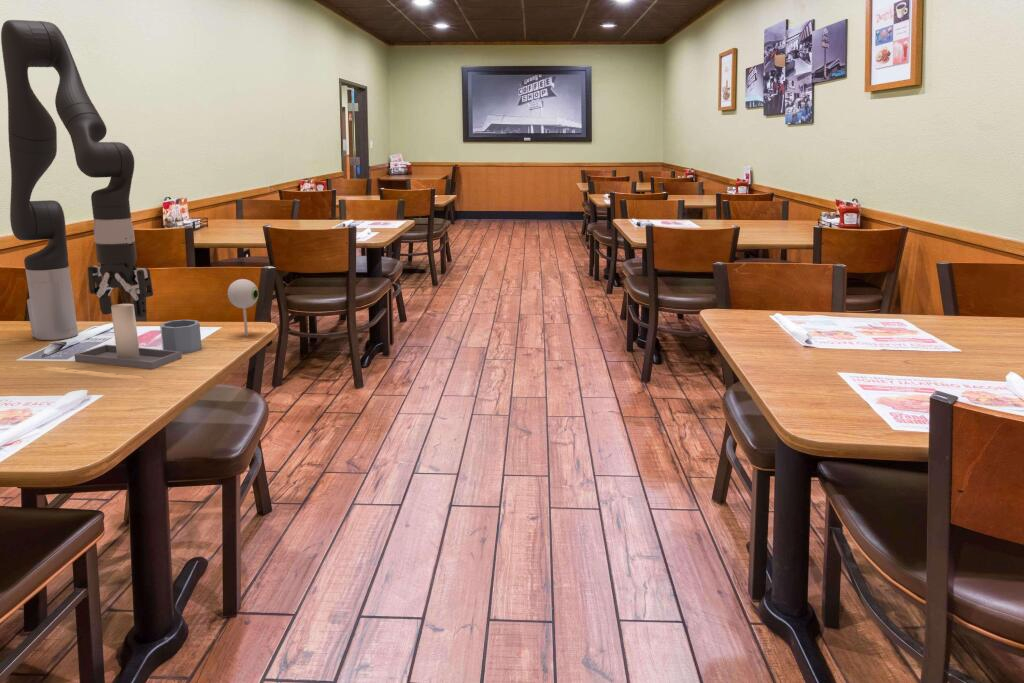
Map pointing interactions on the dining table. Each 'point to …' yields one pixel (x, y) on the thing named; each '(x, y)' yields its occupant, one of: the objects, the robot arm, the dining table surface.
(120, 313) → the peg
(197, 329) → the grey octagonal collar
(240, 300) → the lollipop
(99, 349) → the tray
